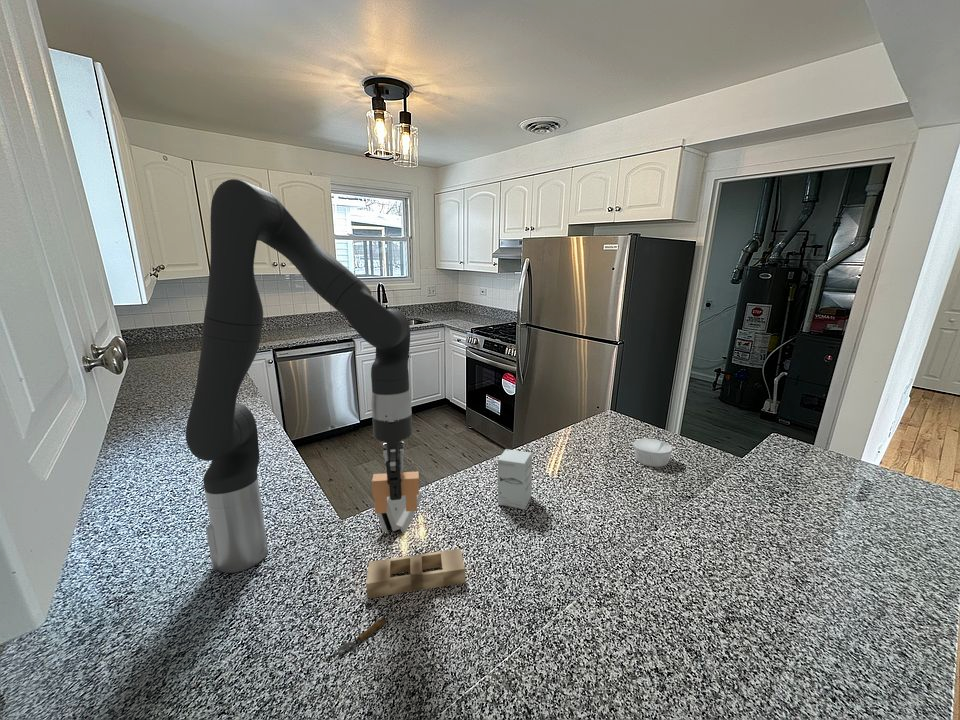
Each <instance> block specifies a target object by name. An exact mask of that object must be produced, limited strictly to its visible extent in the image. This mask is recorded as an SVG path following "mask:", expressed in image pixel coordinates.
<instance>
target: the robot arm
mask: <svg viewBox="0 0 960 720" xmlns="http://www.w3.org/2000/svg"><path fill="white" fill-rule="evenodd" d="M211 199H212V200H211V202H210V204H211V205H210V262H209V263H210V264H209V274H208V283H207V284H208V285H207V294H206V295H207V296H206V304H205V309H204V316H203V317H204V318H203V323H202V324H203V325H202V326H203V327H202V335H201V348H200V354H199V362H198V363H199V364H198V370H197V379H196V384H195V390H194V394H193V399H192V403H191V406H190V410H189V415H188V418H187V421H186V426H185V427H186V428H185V441H186V444H187V447H188V449H189V451H190V453H191V454H192V455H193V456H194V457H196V458H197V459H199V460H201V461H205V462H210V465H209V466H208V468H207V470H206V471H205V473H204V475H203V479H202V482H203V489H204V494H205V495H204V496H205V500H206V505H207V513H208V518H209V524H208V525H207V526H206V529H205V531H206V536H207V537H206V538H207V543H208V548H209V553H210V560H211V567H212V571H219V572H221V573H227V574H232V573H233V574H234V573H238V572H243V571H245V570H248V569H250V568H252V567H254V566H255V565H257V564H258V563H260V562H262V561H263V560H264V559H265V557H266V556H267V554H268V552H269V550H268V549H269V547H268V540H267V533H266V526H265V519H264V512H263V506H262V505H263V504H262V498H261V491H260V483H259V482H260V481H259V477H258V475H259V474H258V467H259V464H260V444H259V433H258V426H257V421H256V419H255V416H254V414H253V413H252V412H251V410H250V409H249V408H248V407H247V406H246V405H244V404H241V403H238V402H237V399H238V394H239V390H240V389H241V388H240V387H241V385H242V384H243V381H244V379H245V377H246V375H247V373H248V371H249V370H250V368H251V366H252V364H253V362H254V360H255V359H256V355H257V354H258V351H259V348H260V344H261V338H262V331H263V326H264V325H263V323H264V309H263V302H262V299H261V296H260V292H259V287H258V286H257V282H256V279H255V271H254V270H255V268H254V267H255V266H254V265H255V257H256V255H255V254H256V251H257V250H256V249H257V243H258V242H259V241H261V242H262V243H264V244H265V245H267V246H269V247H270V248H272V249H273V250H275V251H277V253H279V254H281V255H282V256H283V257H285V258H286V259H287V260H288V261H289V262H290V263H291V264H292V265H293V266H294V267H295V268H296V269H297V270H298V272H299V273H300V274H301V276H302V277H303V279H304V280H305V282H306V283H307V284H308V285H309V286H310V287H311V288H312V289H313V291H314V292H315V293H317V294H318V295H319V296H320V297H321V298H322V299H323V300H324V301H326V302H327V303H328V304H329V305H330V306H331V307H333V309H335V310H336V311H338V312H339V313H340V314H341V315H342V316H343V317H344V318H345V319H346V320H347V322H348V324H349V325H350V326H351V327H352V328H353V329H354V330H355V331H356V333H357V334H358V335H359V336H360V337H361V338H362V339H363V340H364V341H365V342H367V343H368V344H369V345H371V346H372V347H374V348H375V359H374V361H373V362H372V365H371V368H370V378H371V418H372V435H373V438H374V440H376V441H379V442H383V449H382V455H383V458H384V466H385V467H384V470H385V473H387V483H388V485H389V486H390V499H391V500H400V499H401V498H402V493H401V482H402V478H401V472H403V470H404V455H405V442H404V441H405V440H406V439H409V438H410V437H411V436H412V434H413V417H412V414H413V412H412V399H411V393H410V376H409V356H410V348H411V346H410V344H411V326H410V322H409V320H408V316H407V315H405V314H404V313H403V312H402V311H401V310H400V309H396V308H386V307H385V306H383V304H381V303H380V302H379V301H378V300H377V299H376V298H375V297H374V296H373V295H372V292H371V289H370V288H369V286H368V285H367V284H365V283H364V282H363V281H362V280H361V279H360V278H358V276H356V275H355V274H354V273H353V272H352V271H351V270H349V269H348V268H347V267H346V266H345V265H343V264H342V263H341V262H340V261H339V260H337V259H336V257H334V256H332V254H330V253H329V252H328V251H327V250H325V248H323V246H321V245H320V244H319V243H318V242H317V241H316V240H315V239H314V238H313V237H312V236H311V235H310V234H309V233H308V232H307V231H306V230H305V229H304V228H303V227H302V226H301V225H300V224H299V222H298V220H296V219H295V218H294V216H293V215H292V214H291V213H290V212H289V210H288V209H287V208H286V207H285V206H284V205H283V204H282V202H281V201H280V200H279V199H278V197H276V196H275V195H274V194H273V193H272V192H270V191H268V190H265V189H263V188H261V187H258V186H257V185H254V184H251V183H249V182H247V181H245V180H241V179H238V178H232V179H227V180H224V181H223V182H222V183H221V184H219V185H218V186H217V187H216V189H215V191H214V193H213V196H212V198H211ZM403 440H404V441H403Z"/></svg>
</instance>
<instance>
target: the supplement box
mask: <svg viewBox="0 0 960 720" xmlns="http://www.w3.org/2000/svg"><path fill="white" fill-rule="evenodd" d="M532 459H533V453H532V452H529V451H521V450H515V449H508V448H505V449H504V450H503V452H502V453H501V454H500V456H499V457H498V458H497V505H498V506H503V507H504V506H506V507H511V508H516V509H520V510H525V509H526V508H527V506H528V505H529V504H528V503H530V502H529V501H530V500H531V498H532V490H533V489H532V487H533V485H532V484H533V482H532V481H533V478H532V477H533V460H532Z"/></svg>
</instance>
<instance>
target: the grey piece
mask: <svg viewBox="0 0 960 720" xmlns="http://www.w3.org/2000/svg"><path fill="white" fill-rule="evenodd" d="M422 496H423V494H422V492H421V491H420V490H419V495H417V507H418V508H419V506H420V504H419V502H420V501H421V502H422V500H421V498H422ZM422 499H423V498H422ZM421 502H420V503H421ZM418 505H419V506H418ZM374 508H375V503H374ZM415 515H416V512H415V511H406V495H405V496H402V498H401V499H400V500H391V499H390V497H387V513H380V514H376V516H377V518H378V520H379V523H380V526H381V530H382V532H383V533H384V532H386V533H385V534H389V532H390V531H392V532H395V531H397V530H401V532H402V533H401V534H403V533H405V534H406V532H407V530H408V528H409V527H410V524H411V523H412V521H413V518H414V516H415Z"/></svg>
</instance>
